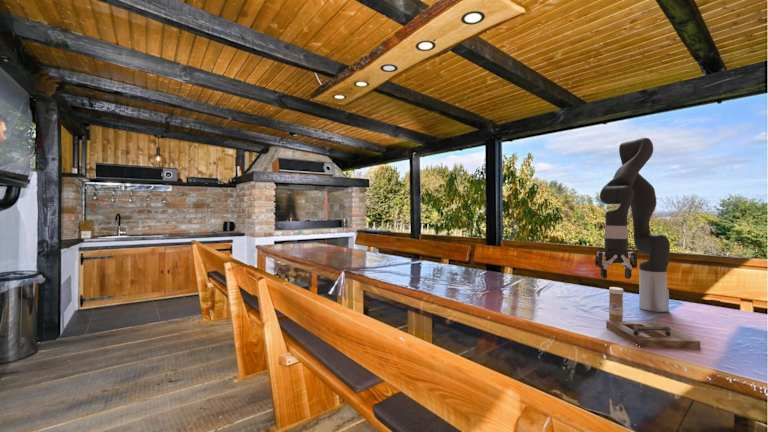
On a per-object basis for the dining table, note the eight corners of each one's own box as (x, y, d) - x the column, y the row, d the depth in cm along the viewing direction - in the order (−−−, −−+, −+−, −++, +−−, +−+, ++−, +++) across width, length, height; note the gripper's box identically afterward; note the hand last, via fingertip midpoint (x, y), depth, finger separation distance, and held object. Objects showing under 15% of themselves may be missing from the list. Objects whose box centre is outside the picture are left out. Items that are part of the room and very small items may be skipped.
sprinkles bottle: (608, 322, 127) (608, 288, 127) (609, 319, 131) (609, 286, 130) (622, 325, 124) (622, 290, 124) (623, 321, 128) (623, 287, 128)
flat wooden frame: (657, 328, 121) (657, 321, 121) (700, 348, 103) (700, 341, 103) (606, 327, 122) (606, 320, 122) (640, 347, 104) (640, 339, 104)
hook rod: (668, 334, 109) (668, 326, 109) (671, 335, 107) (671, 327, 107) (632, 333, 110) (632, 325, 110) (635, 334, 108) (635, 326, 108)
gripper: (629, 236, 130) (628, 276, 130) (591, 236, 131) (591, 276, 132) (642, 238, 123) (641, 280, 123) (602, 237, 124) (602, 280, 124)
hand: (615, 278), depth 127 cm, fingers open, 8 cm apart
